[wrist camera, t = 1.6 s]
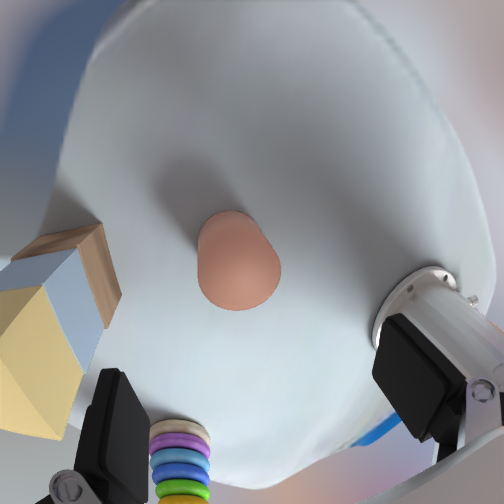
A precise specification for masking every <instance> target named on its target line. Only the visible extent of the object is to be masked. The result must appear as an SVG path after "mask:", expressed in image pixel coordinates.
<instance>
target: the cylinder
mask: <svg viewBox="0 0 504 504" xmlns="http://www.w3.org/2000/svg"><path fill="white" fill-rule="evenodd" d="M280 275H281V266H280V261H279V258H278V256H277V254H276V252H275V251H274V249H273V248H272V246H271V245H270V243H269V242H268V240H267V239H266V237H265V236H264V234H263V233H262V231H261V230H260V228H259V227H258V225H257V224H256V223H255V221H254V220H253V219H252V218H251V217H249V216H248V215H246V214H244V213H242V212H238V211H223V212H220V213H217V214H215V215H213V216H212V217H210V218H209V219H208V220H207V221H206V222H205V223H204V224H203V226H202V228H201V230H200V232H199V236H198V282H199V286H200V288H201V291H202V292H203V294H204V295H205V297H206V298H207V299H208V300H209V301H210V302H212V303H213V304H215V305H216V306H218V307H221V308H223V309H227V310H234V311H240V310H246V309H250V308H253V307H256V306H258V305H260V304H261V303H263V302H264V301H265V300H267V299H268V298H269V297H270V296H271V295H272V293H273V292H274V291H275V289H276V287H277V285H278V283H279V280H280Z"/></svg>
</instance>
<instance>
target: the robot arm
mask: <svg viewBox="0 0 504 504" xmlns="http://www.w3.org/2000/svg"><path fill="white" fill-rule="evenodd" d="M477 304H478V298H477V296H475V295H473V296H471V297H469V298H467V299H466V298H465V297H463V296H462V295H461V294H459V293H458V292H457V285H456V281H455V279H454V277H453V276H452V275H451V274H450V272H448V271H447V270H445V269H443V268H441V267H438V266H429V267H425V268H421V269H419V270H417V271H415V272H413V273H412V274H411V275H409V276H408V277H406V278H405V279H404V280H403V281H402V282H401V283H399V284H398V285H397V286H396V287H395V289H394V290H393V291H392V292H391V293H390V294H389V296H388V297H387V299H386V300H385V302H384V303H383V305H382V307H381V309H380V311H379V312H378V315H377V317H376V320H375V323H374V327H373V332H372V341H373V345H374V348H375V349H376V351H377V352H376V356H375V361H374V365H373V369H372V376H373V378H374V380H375V382H376V383H377V384H378V386H379V387H380V389H381V390H382V392H383V393H384V395H385V396H386V398H387V399H388V400H389V402H390V403H391V405H392V406H393V408H394V409H395V411H396V412H397V414H398V415H399V417H400V418H401V420H402V421H403V423H404V424H405V425H406V427H407V428H408V430H409V431H410V433H411V434H412V435H413V437H414V438H416V439H417V438H418V439H419V441H420V442H421V443H423V442H424V441H426V440H428V439H430V438H431V437H433V438H434V440H435V448H434V453H433V459H432V464H431V467H430V468H428V469H426V470H425V471H423V472H421V473H419V474H417V475H415V476H414V477H412V478H410V479H408V480H406V481H404V482H402V483H400V484H398V485H396V486H394V487H392V488H390V489H388V490H386V491H384V492H382V493H379V494H377V495H375V496H372V497H370V498H367V499H365V500H363V501H360V502H358V503H355V504H504V331H503V330H501V329H500V328H499V327H498V326H497V325H495V324H494V323H493V322H492V321H490V320H489V319H488V318H487V317H485V316H484V315H483V314H482V313H480V312H479V311H478V309H477V308H474V306H476V305H477ZM149 437H150V421H149V417H148V415H147V414H146V412H145V410H144V408H143V407H142V405H141V403H140V401H139V400H138V398H137V396H136V394H135V392H134V390H133V388H132V386H131V385H130V383H129V381H128V379H127V377H126V375H125V373H124V372H120V371H119V369H118V368H108V369H102V370H101V372H100V375H99V378H98V382H97V385H96V389H95V392H94V396H93V400H92V404H91V405H89V406H88V408H87V410H86V414H85V418H84V422H83V426H82V430H81V435H80V440H79V444H78V449H77V453H76V459H75V464H74V469H73V470H69V469H68V470H61V471H59V472H57V473H56V474H55V475H54V476H53V477H52V479H51V480H50V484H49V492H50V494H49V495H48V496H46V497H45V498H43V499H42V500H40V501H39V502H37V503H35V504H144V503H147V502H148V464H149Z"/></svg>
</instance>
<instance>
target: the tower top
mask: <svg viewBox="0 0 504 504" xmlns="http://www.w3.org/2000/svg"><path fill="white" fill-rule="evenodd" d="M83 374H84V373H83V371H82V369H81V367H80V366H79V364H78V362H77V360H76V358H75V356H74V354H73V352H72V350H71V349H70V347H69V345H68V343H67V341H66V338H65V336H64V334H63V332H62V330H61V328H60V326H59V324H58V321H57V319H56V317H55V315H54V312H53V310H52V307H51V305H50V303H49V300H48V298H47V295H46V293H45V290H44V287H43V286H36V287H29V288H23V289H16V290H10V291H3V292H0V429H3V430H7V431H12V432H16V433H21V434H25V435H31V436H36V437H42V438H48V439H54V440H62V438H63V435H64V432H65V428H66V425H67V421H68V418H69V415H70V412H71V409H72V406H73V403H74V400H75V397H76V394H77V391H78V388H79V385H80V382H81V380H82V377H83Z"/></svg>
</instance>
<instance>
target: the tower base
mask: <svg viewBox="0 0 504 504" xmlns="http://www.w3.org/2000/svg"><path fill="white" fill-rule="evenodd" d="M73 248H78V251H79V254H80V257H81V261H82V264H83V267H84V271H85V274H86V277H87V280H88V283H89V286H90V289H91V292H92V294H93V297H94V300H95V303H96V305H97V308H98V311H99V313H100V316H101V319H102V321H103V324H104V326H105V327H104V329H108V327H109V324H110V322H111V320H112V317H113V315H114V312H115V310H116V308H117V305H118V303H119V301H120V298H121V296H122V293H121V290H120V287H119V284H118V281H117V277H116V274H115V270H114V267H113V263H112V260H111V256H110V252H109V249H108V245H107V241H106V237H105V233H104V229H103V224H102V223H99V224H94V225H89V226H84V227H80V228H75V229H71V230H66V231H62V232H57V233H53V234H48V235H44V236H40V237H38V238H37V239H36V240H34V241H33V242H32V243H30V244H29V245H28V246H26V247H25V248H24V249H22V250H21V251H20V252H18V253H17V254H16V255H15V256H13V257H12V258H11V262H12V261H15V260H20V259H24V258H29V257H34V256H38V255H43V254H48V253H53V252H58V251H63V250H68V249H73Z"/></svg>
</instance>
